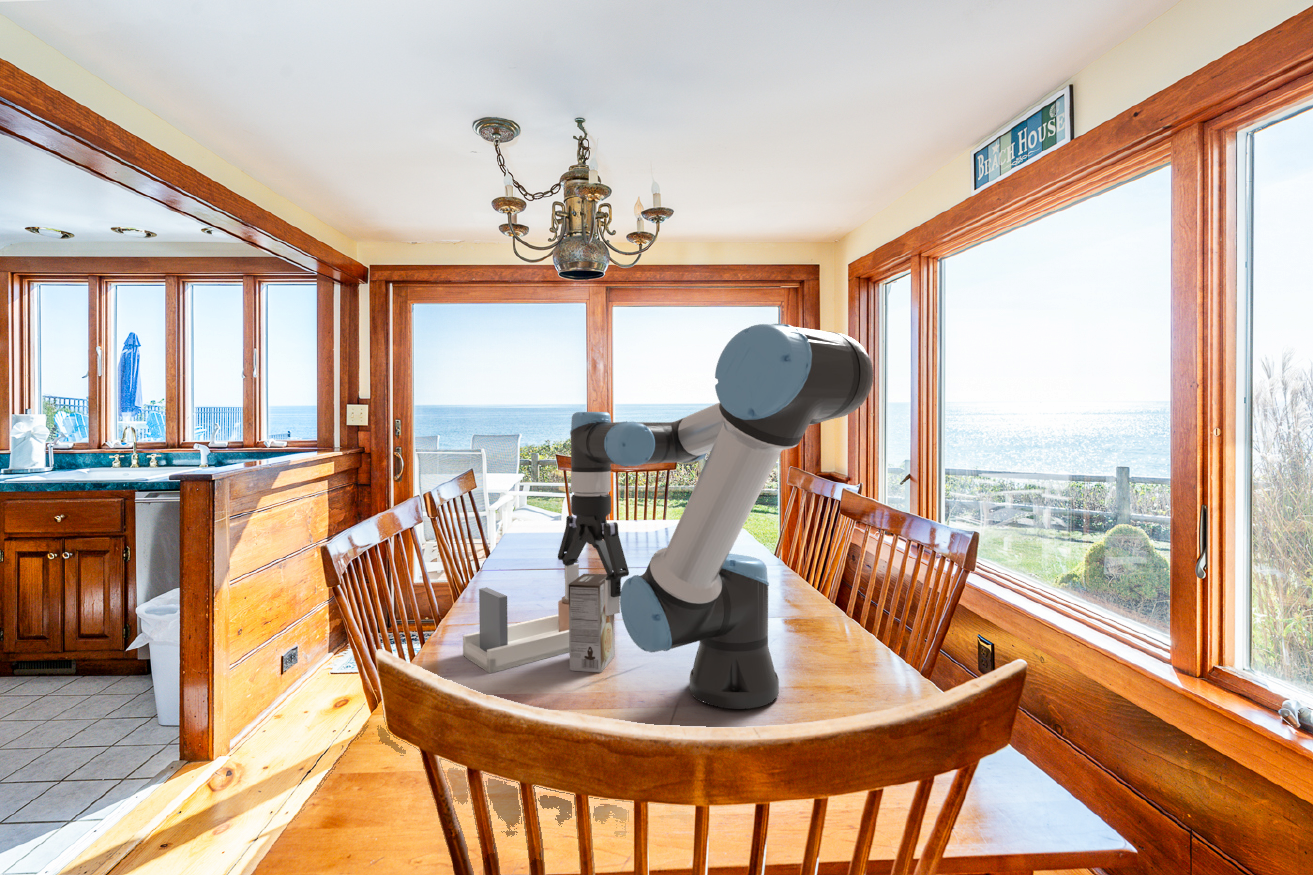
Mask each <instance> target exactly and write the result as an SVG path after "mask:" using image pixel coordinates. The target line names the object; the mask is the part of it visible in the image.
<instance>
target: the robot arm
mask: <svg viewBox="0 0 1313 875" xmlns="http://www.w3.org/2000/svg"><path fill="white" fill-rule="evenodd" d="M714 378H715V379H716V380H717V384H715V385H714V388H715V393H716V396H717V400H718V401H719V402H717V403H715V404H712V405H710V406H708V407H705V408H703V409H701V410H699V411H696V412H694V413H692V414H689V415H687V416H686V417H683V418H680V419H678V420H675V421H669V422H667V421H665V422H662V421H661V422H658V421H657V422H651V421H650V422H649V421H648V422H647V421H644V422H643V421H642V422H638V421H637V422H636V421H627V420H626V421H617V422H612V418H611V414H610V413H609V412H608V411H576V412H574V413H573V414H572V416H571V425H570V426H571V428H570V431H569V432H570V434H569V435H570V465H571V466H570V468H571V471H570V491H571V493H574V494H572V495H571V497H570V506H571V507H570V512H571V515H567V516H566V522H565V529H564V533H563V536H562V539H561V543H560V545H559V550H558V554H557V558H558V561H562V564H563V565H564V596H565V599H569V586H568V585H569V584H570V583H571V582H573V581H574V580H576V579H577V578H578V577H580V574H579V573H580V571H579V570H580V569H579V568H580V567H579V564H578V563H579V557H580V556H581V554H582V551H583V549H584V548H585V546H586V544H589V545H591V546H592V548H594V549H595V550H596V552H597V554H598V556H599V559H600V561H601V564H602V566H603V569H604V571H605V572H606V573H605V574H607V575H608V576H607V577H606V578H605V615H607V616H609V615H613V614H614V615H616V614H620V612H621V616H622V621H623V625H624V626H625V630H626V631H627V633H628V635H629V637H630V639H631V640H632V641H633V643H634V644H635V645H636V646H637V647H638V648H640V649H641V650H642V651H644V652H648V653H657V652H661V651H664V652H668V651H670V650H672V649H675V648H679V647H683V646H686V645H690V644H693V643H697V642H698V643H699V644H698V647H697V651H696V654H695V657H694V658H695V659H694V661H693V663H694V664H693V666H692V669H691V670H690V674H689V692H690V694H691V695H692V696H693V695H694V696H695V697H696V698H697V699H696V698H695V697H694V696H693V697H694V698H695V699H696V700H698V699H699V700H698V701H700V700H701V701H700V702H702V701H704V702H706V703H709V704H711V705H710V706H713V705H715V706H714V707H717V706H718V707H717V708H723V707H724V709H736V710H741V709H742V710H744V709H745V708H746V709H755V708H759V707H763V706H765V705H766V706H767V705H768V703H769V704H771V703H772V702H774V701H775V700H776V699H777V698H778V697H779V695H780V684H779V683H780V681H779V680H780V679H779V677H778V674H777V672H776V670H775V667H774V663H773V660H772V656H771V652H770V649H769V586H770V582H769V581H768V579H769V578H768V568H767V565H766V564H765V562H764V561H763V560H762V559H760V558H757V557H752V556H748V555H744V554H735V553H731V551H732V548H733V546H734V545H735V543H736V541H737V539H738V537H739V535H740V533H741V531H742V529H743V527H744V526H745V524H746V521H747V519H748V517H749V516H750V513H751V511H752V510H753V508H754V506H755V504H756V503H757V500H758V498H759V496H760V495H761V492H762V490H763V489H764V487H765V485H766V483H767V481H768V479H769V477H770V475H771V473H772V471H773V470H774V467H775V465H776V463H777V461H778V459H780V458H779V457H780V455H781V453H782V452H783V451H785V450H789V449H794V448H795V447H797V446H798V445H799V444H800V442H801V441H802V439H803V437H804V435H805V433H806V431H807V429H808V427H809V426H812V425H817V424H820V423H824V422H826V421H830V420H835V419H838V418H839V419H840V418H842V417H843V418H844V417H845V416H847V415H850V414H851V413H853V412H855V411H856V410H857V409H859V408H860V407H861V406H862V405H863V404H864V402H866V400H867V398H868V396H869V394H871V393H870V392H871V390H872V387H873V382H874V369H873V364H872V361H871V358H870V355H869V354H868V352H867V351H866V349H865V348H864V347H863V346H862V345H861V344H860V343H859V342H858V341H857V340H855V339H854V338H852V337H850V336H848V335H846V334H843V333H840V332H834V331H825V330H819V329H810V328H804V327H798V326H797V327H796V326H792V325H791V324H785V323H772V324H771V323H770V324H769V323H767V324H766V323H759V324H754V325H751V326H749V327H747V328H744V329H742V330H741V331H739V332H737V334H735V335H734V336H733V337H732V338H731V339H730V340H729V341H728V342H727V343H726V345H725V346H724V348H723V350H722V351H721V353H720V356H719V358H718V360H717V363H716V366H715V374H714ZM707 454H709V455H708V457H707V458H706V456H707ZM705 458H706V461H705V463H704V465H703V468H702V470H701V472H700V474H699V476H698V479H697V481H696V483H695V486H694V488H693V490H692V492H691V494H690V497H689V499H688V501H687V503H686V505H685V506H684V510H683V512H682V514H681V517H680V518H679V521H678V523H677V525H676V528H675V530H674V531H673V534H672V536H671V538H670V541H669V543H668V545H667V547H664V548H661V549H658V550H657V551H655V553H654V554H653V555H652V557H651V559H650V561H649V563H648V565H647V568H646V570H645V572H644V573H643V574H641V575H639V574H636V575H635V574H634V575H633V576H631V577H629V578H627V579H626V580H625V581H624V582H623V585H622V578H624V577H628V576H629V575H630V571H629V566H628V564H627V560H626V557H625V552H624V549H623V545H622V543H621V539H620V535H619V524H618V522H616V521H615V522H608V521H607V516H609V515H610V514H611V512H612V496H611V494H609V493H610V492H611V491H612V481H611V480H612V477H611V471H612V465H618V466H621V467H636V466H637V467H638V466H642V465H650V464H663V463H670V464H671V463H685V464H688V463H692V462H693V463H694V462H698V461H701V460H704V459H705ZM621 586H622V587H621ZM778 694H779V695H778ZM777 696H778V697H777ZM776 697H777V698H776ZM775 698H776V699H775ZM774 699H775V700H774ZM773 700H774V701H773ZM704 702H703V703H704ZM770 702H771V703H770ZM706 703H705V704H706ZM709 704H708V705H709Z"/></svg>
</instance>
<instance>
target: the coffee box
mask: <svg viewBox="0 0 1313 875" xmlns="http://www.w3.org/2000/svg"><path fill="white" fill-rule="evenodd" d="M607 576H608V575H607V573H582V574H581V575H579V577H578V578H577V579H576V580H574V581H573V582H571V583H570V584H569V585H568V586H569V652H568V653H569V654H568V655H569V656H568V657H569V670H570V671H573V672H574V671H575V672H586V673H587V672H588V673H602V672H604V670H605V668H606V667H607V666H608V665H609V664H610V662H611V661H612V659H613V658H614V657H615V655H616V653H615V652H616V651H615V648H616V647H615V646H616V645H615V644H616V643H615V634H616V633H615V614H613V615H609V616H607V615H605V578H606V577H607Z"/></svg>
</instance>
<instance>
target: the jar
mask: <svg viewBox="0 0 1313 875" xmlns="http://www.w3.org/2000/svg"><path fill="white" fill-rule="evenodd" d="M557 602H558V603H557V606H558V610H557V614H558V627H559V632H562V631H566V630H569V599H565V595H564V596H562V597H561V599H560V600H558V601H557Z"/></svg>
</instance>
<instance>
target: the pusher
mask: <svg viewBox="0 0 1313 875" xmlns="http://www.w3.org/2000/svg"><path fill="white" fill-rule="evenodd" d="M478 592H479V593H478V595H479V596H478V597H479V598H478V602H479V603H478V608H479V610H478V611H479V612H478V613H479V615H478V616H479V632H480V648H481V649H482V650H484V651H485V652H487V650H488V649H492V648H496V647H500V646H504V645H508V626H507V625H508V596H507V595H505V594H503V593H501V592H499V591H496V590H494V589H491V588H489V587H482V588H479V589H478Z"/></svg>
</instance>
